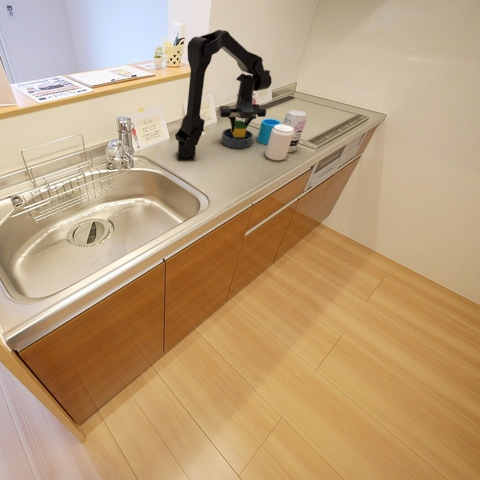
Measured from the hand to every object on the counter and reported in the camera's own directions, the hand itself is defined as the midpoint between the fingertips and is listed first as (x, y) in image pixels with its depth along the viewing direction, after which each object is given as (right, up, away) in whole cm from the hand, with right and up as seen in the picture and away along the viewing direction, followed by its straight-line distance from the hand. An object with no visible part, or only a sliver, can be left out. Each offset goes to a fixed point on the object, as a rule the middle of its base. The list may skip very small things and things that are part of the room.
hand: (237, 131), depth 119 cm
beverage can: (+13, -13, -6) cm, 20 cm away
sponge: (0, -1, +1) cm, 1 cm away
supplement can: (+20, -8, -1) cm, 22 cm away
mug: (+16, -1, +6) cm, 17 cm away
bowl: (0, -4, +3) cm, 5 cm away
